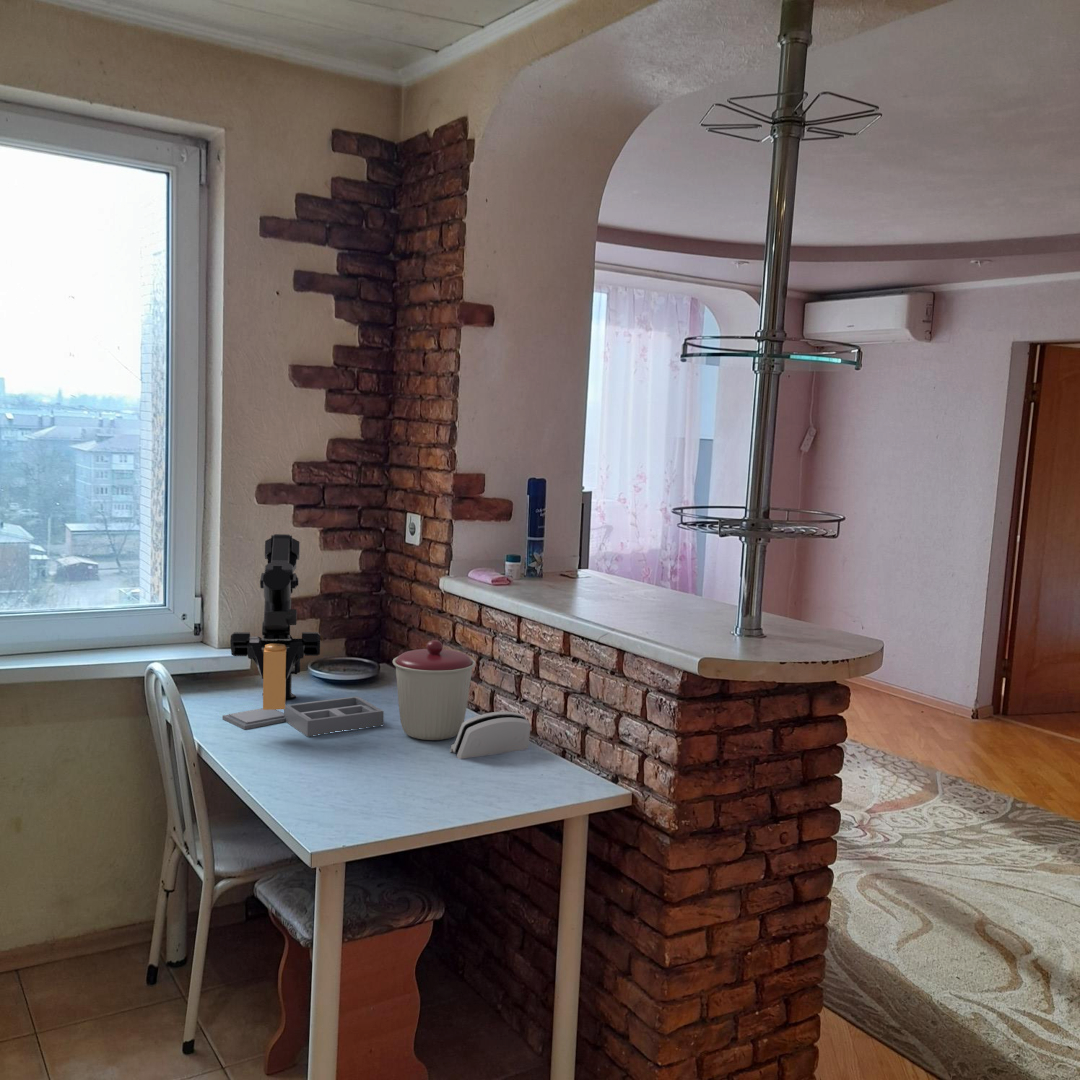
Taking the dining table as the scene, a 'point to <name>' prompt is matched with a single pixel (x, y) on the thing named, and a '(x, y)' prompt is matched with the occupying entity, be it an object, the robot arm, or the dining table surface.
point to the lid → (255, 718)
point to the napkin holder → (492, 735)
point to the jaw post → (274, 677)
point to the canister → (433, 691)
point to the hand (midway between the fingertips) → (274, 677)
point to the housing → (333, 715)
